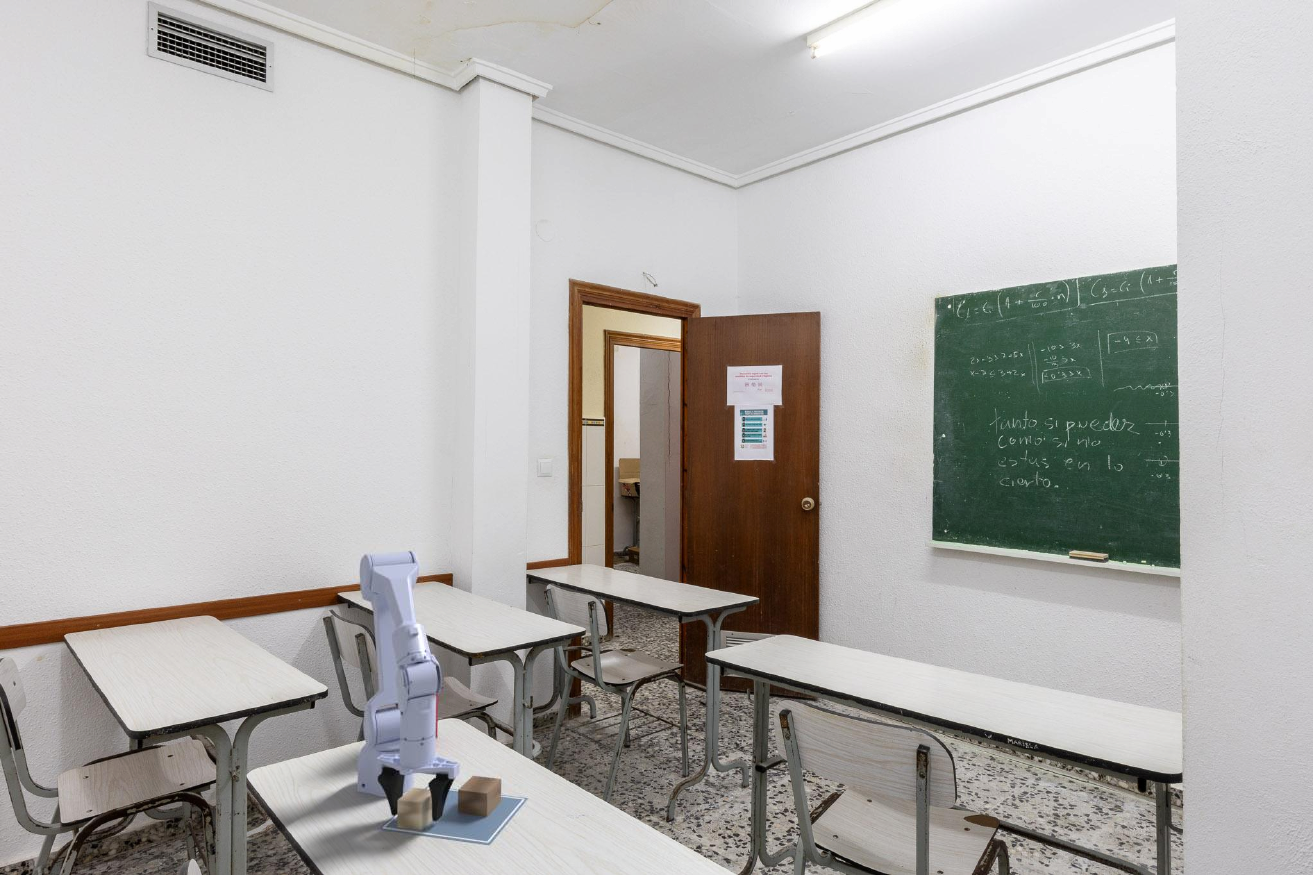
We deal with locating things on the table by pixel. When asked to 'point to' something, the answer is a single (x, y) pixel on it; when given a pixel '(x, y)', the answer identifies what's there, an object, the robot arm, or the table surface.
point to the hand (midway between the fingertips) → (417, 815)
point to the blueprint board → (465, 821)
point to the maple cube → (415, 809)
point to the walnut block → (479, 796)
